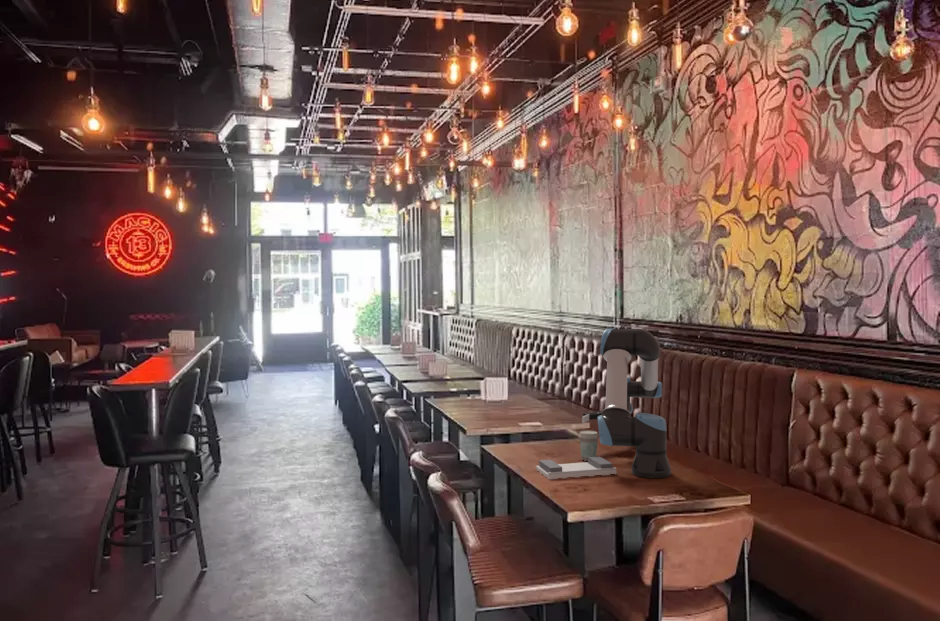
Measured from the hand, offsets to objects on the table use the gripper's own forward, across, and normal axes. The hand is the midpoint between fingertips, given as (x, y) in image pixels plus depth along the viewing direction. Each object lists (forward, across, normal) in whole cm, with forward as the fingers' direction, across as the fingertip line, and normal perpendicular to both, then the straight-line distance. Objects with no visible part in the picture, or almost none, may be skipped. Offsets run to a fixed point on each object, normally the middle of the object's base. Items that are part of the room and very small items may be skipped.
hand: (597, 421), depth 320 cm
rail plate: (+31, -3, -14) cm, 35 cm away
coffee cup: (+10, 0, -15) cm, 18 cm away
